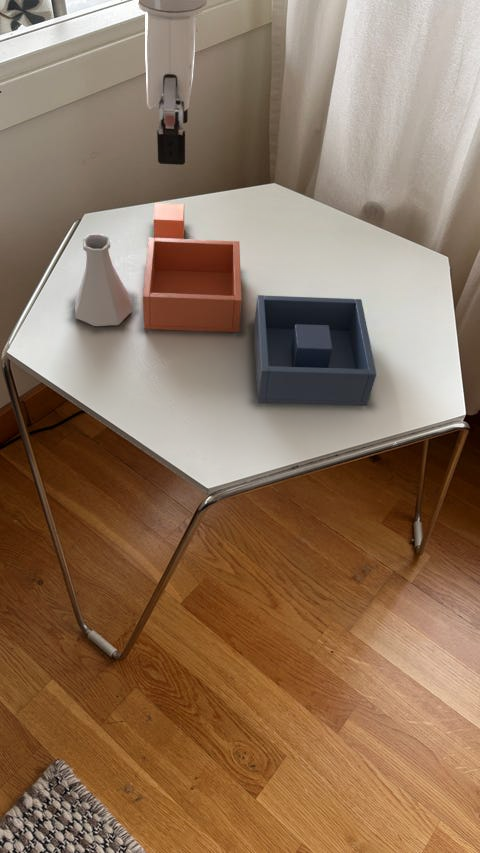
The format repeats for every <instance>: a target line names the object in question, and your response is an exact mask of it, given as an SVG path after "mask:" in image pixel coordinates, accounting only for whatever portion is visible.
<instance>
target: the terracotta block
mask: <svg viewBox="0 0 480 853" xmlns="http://www.w3.org/2000/svg"><path fill="white" fill-rule="evenodd" d="M153 238H170V239H185V203H163V202H155V203H154V211H153Z"/></svg>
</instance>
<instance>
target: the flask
mask: <svg viewBox="0 0 480 853" xmlns="http://www.w3.org/2000/svg"><path fill="white" fill-rule="evenodd" d="M82 248H83V251H85V253H86V261H85V267H84V268H85V269H84V272H83V276H82V279H81V283H80V286H79V289H78V292H77V296H76V298H75V301H74V307H75V308H74V310H75V311H74V314H75V317H74V318H75V319H77V320H80V321H82V322H84V323H86V324H89V325H91V326H94V327H104V326H119V325H120V324H121V323H122V322H123V321H124V320H125V319H126V318H127V317H128V316H129V315H130V314H131V313H132V301H131V295H130V293H129V291H128V290H127V288H126V287H125V285H124V283H123V282H122V279H121V278H120V276H119V273H118V272H117V271H116V268H115V267H114V265H113V262H112V260H111V256H110V252H109V249H110V248H111V239H110V236H108V235H105V234H102V233H91V234H87V235H86V237H84V238H83V239H82Z"/></svg>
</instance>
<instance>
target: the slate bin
mask: <svg viewBox="0 0 480 853" xmlns="http://www.w3.org/2000/svg"><path fill="white" fill-rule="evenodd" d="M295 324H302V325H328V326H329V330H330V336H331V343H332V353H331V358H330V362H329V366H328V368H306V367H293V365H292V355H291V345H292V340H293V334H294V328H295ZM253 332H254V333H253V337H254V357H255V376H256V377H255V378H256V390H257V391H256V394H257V403H270V404H271V403H273V404H275V403H276V404H277V403H278V404H310V405H311V404H312V405H343V406H344V405H346V406H347V405H348V406H368V404H369V400H370V398H371V395H372V391H373V387H374V384H375V380H376V377H377V369H376V365H375V360H374V356H373V349H372V345H371V340H370V335H369V330H368V326H367V320H366V315H365V311H364V306H363V301H362V299H361V298H344V297H343V298H342V297H341V298H340V297H338V298H337V297H317V296H316V297H314V296H288V295H287V296H285V295H260V294H257V296H256V304H255V313H254V322H253Z"/></svg>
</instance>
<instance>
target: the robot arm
mask: <svg viewBox="0 0 480 853" xmlns="http://www.w3.org/2000/svg"><path fill="white" fill-rule="evenodd" d="M135 2H136V3H135V4H136V6H137V7H138V9H139V10H140V11H142V12H145V73H146V74H145V76H146V107H147V108H148V109H149V110H153V109H158V129H157V130H156V136H157V137H156V139H157V141H156V142H157V143H156V144H157V162H158V164H160V165H178V166H179V165H180V166H183V165H185V163H186V130H184V124H187V122H188V120H189V119H188V118H189V117H188V116H189V115H188V114H189V113H188V112H189V111H188V110H189V107H190V100H191V93H192V88H193V87H192V85H193V78H194V66H195V50H196V48H195V46H196V45H195V44H196V15H197V16H198V15H199V14H201V13H203V12H204V11H205V10H206V9H207V5H208V0H135Z"/></svg>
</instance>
